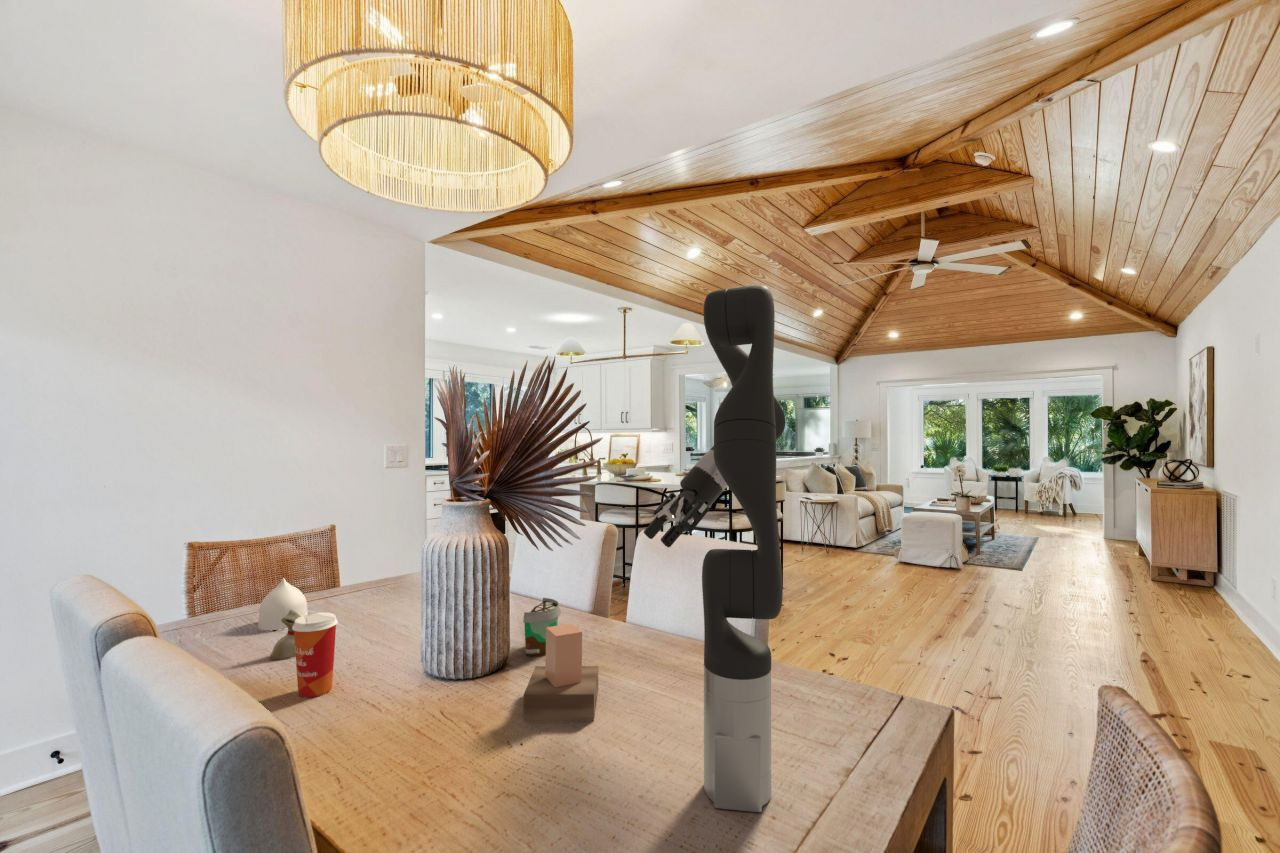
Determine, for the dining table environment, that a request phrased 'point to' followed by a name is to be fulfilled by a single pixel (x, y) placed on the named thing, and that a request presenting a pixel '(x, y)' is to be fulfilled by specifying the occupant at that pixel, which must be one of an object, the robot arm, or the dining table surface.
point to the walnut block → (561, 698)
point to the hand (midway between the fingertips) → (655, 540)
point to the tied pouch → (286, 639)
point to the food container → (540, 626)
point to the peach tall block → (563, 655)
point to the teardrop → (281, 606)
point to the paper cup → (315, 653)
